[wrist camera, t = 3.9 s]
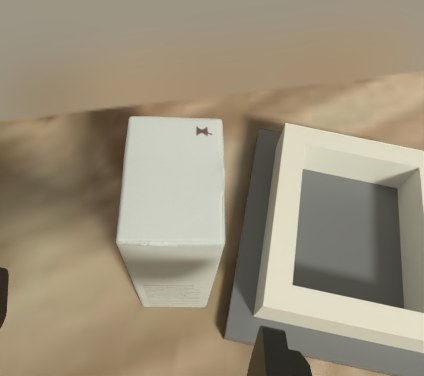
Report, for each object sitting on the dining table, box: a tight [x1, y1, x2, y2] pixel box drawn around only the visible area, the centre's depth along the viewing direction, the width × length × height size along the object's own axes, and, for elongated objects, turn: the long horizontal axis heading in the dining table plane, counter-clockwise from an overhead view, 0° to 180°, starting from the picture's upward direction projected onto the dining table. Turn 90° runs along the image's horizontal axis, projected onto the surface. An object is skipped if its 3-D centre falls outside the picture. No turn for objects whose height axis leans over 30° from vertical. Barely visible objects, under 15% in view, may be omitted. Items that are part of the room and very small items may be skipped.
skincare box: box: [116, 116, 225, 307], centre depth 20 cm, size 6×4×12 cm
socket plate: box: [223, 123, 424, 376], centre depth 26 cm, size 14×16×4 cm
